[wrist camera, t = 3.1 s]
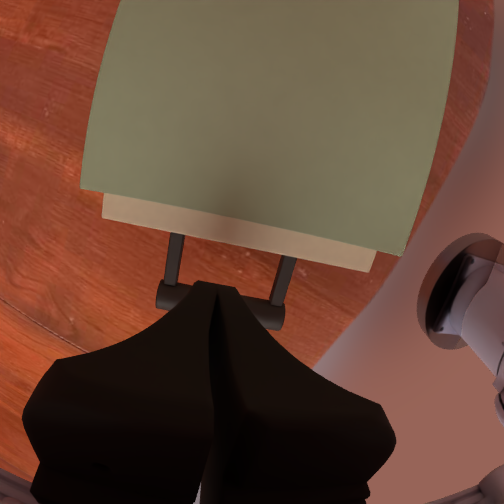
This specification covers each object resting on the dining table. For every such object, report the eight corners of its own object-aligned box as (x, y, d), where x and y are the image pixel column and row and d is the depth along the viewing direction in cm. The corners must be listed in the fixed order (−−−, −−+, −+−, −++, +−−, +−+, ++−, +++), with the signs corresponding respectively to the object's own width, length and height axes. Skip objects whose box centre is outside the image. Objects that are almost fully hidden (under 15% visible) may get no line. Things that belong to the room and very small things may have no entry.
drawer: (303, 295, 20) (330, 366, 14) (137, 262, 19) (97, 324, 13) (375, 27, 14) (436, -10, 8) (198, -19, 13) (182, -82, 7)
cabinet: (337, 204, 19) (402, 257, 11) (145, 162, 18) (78, 188, 10) (384, 6, 14) (460, -44, 6) (201, -42, 13) (183, -125, 5)
